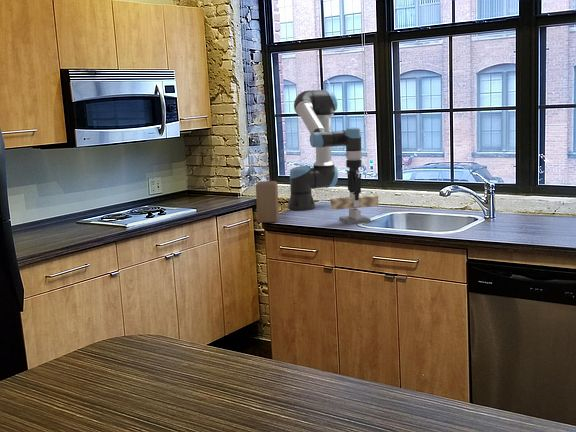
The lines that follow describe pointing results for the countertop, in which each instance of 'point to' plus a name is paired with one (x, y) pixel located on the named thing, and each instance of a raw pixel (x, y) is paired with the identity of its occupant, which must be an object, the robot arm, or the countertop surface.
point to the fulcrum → (354, 217)
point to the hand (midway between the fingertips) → (354, 205)
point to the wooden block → (267, 201)
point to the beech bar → (348, 202)
